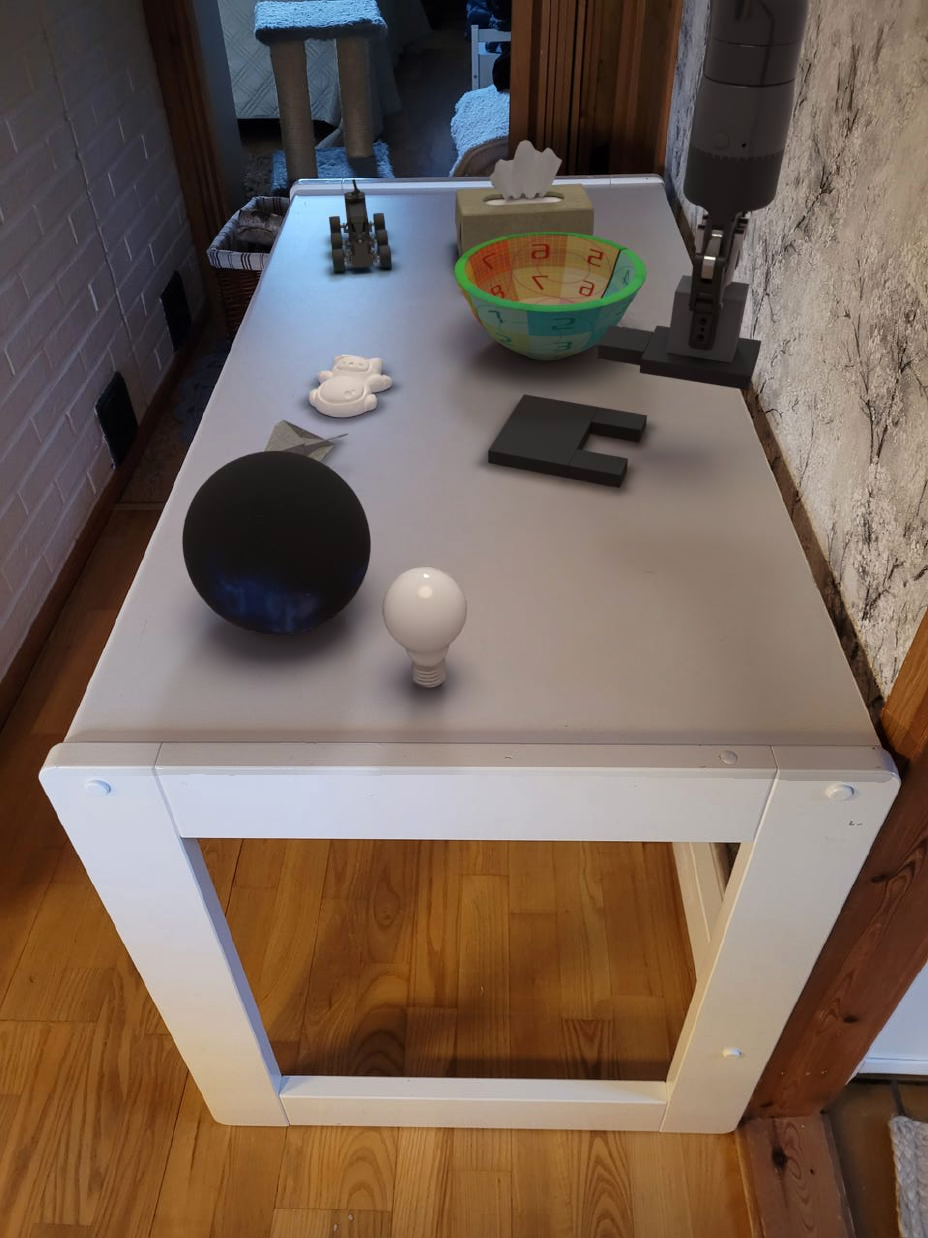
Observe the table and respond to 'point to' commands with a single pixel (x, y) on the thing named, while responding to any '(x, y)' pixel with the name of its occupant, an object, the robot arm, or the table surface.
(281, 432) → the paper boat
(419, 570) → the lightbulb
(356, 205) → the toy vehicle
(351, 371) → the white bear figurine
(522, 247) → the bowl
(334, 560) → the decorative sphere
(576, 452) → the notch pad
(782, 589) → the table surface
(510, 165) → the tissue box
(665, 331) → the pad
